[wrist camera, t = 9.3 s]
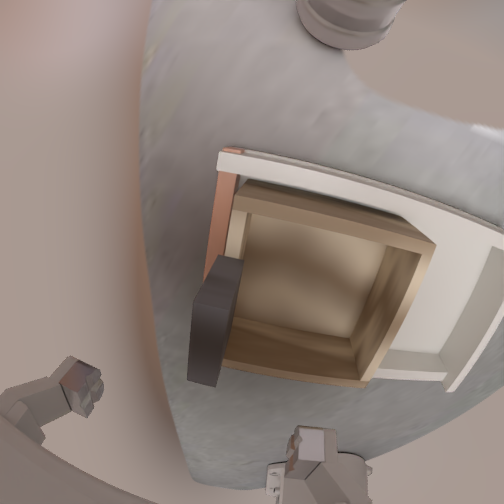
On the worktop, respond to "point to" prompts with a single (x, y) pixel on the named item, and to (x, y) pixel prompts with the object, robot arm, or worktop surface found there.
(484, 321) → the white tray
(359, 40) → the plastic bottle
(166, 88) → the worktop surface
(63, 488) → the robot arm
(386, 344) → the drawer
